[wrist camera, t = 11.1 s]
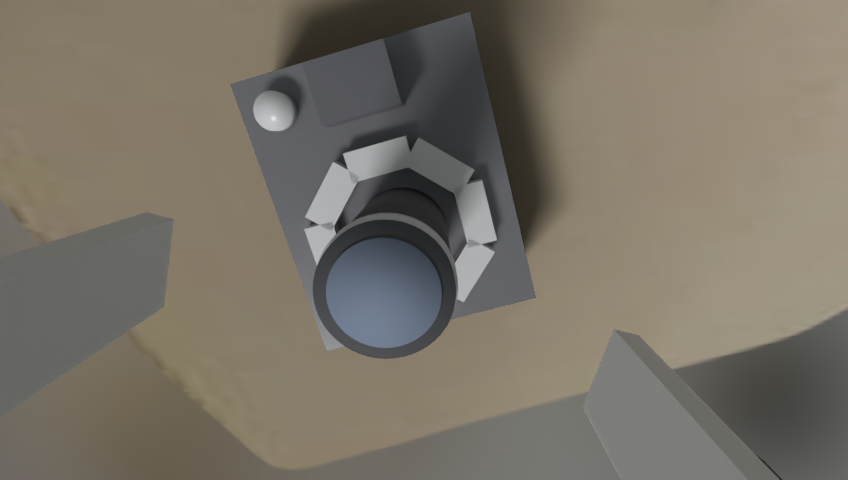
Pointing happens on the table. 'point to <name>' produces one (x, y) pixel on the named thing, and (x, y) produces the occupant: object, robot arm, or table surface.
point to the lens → (388, 277)
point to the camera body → (391, 152)
